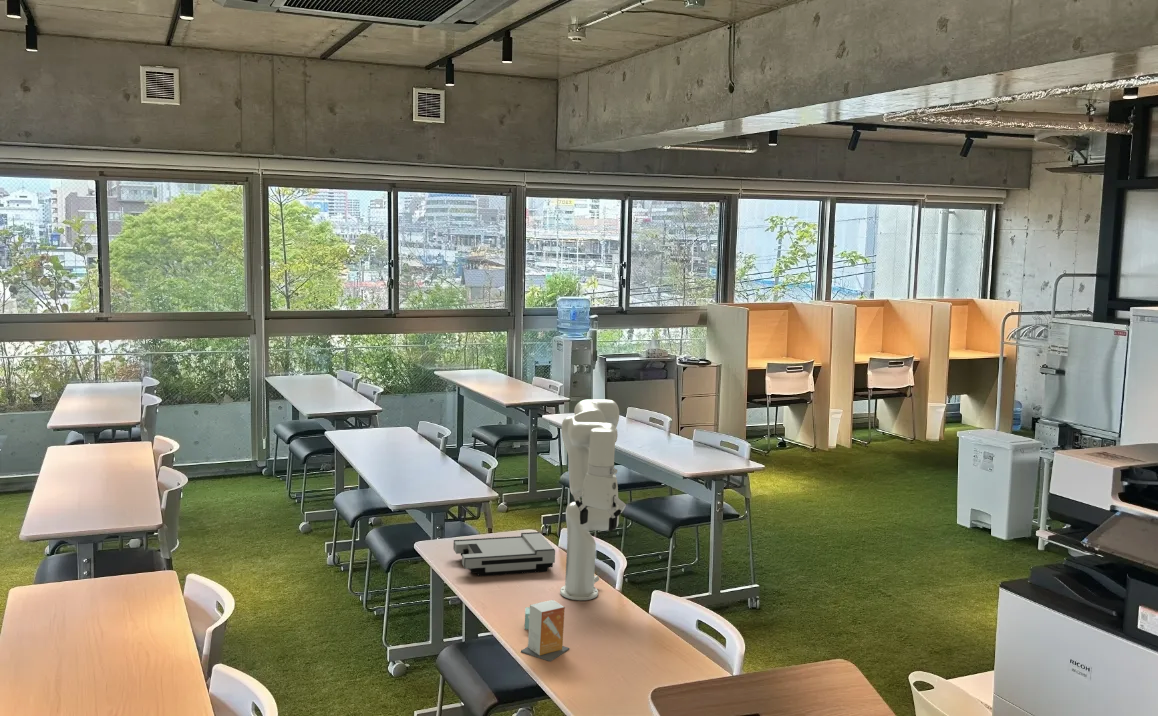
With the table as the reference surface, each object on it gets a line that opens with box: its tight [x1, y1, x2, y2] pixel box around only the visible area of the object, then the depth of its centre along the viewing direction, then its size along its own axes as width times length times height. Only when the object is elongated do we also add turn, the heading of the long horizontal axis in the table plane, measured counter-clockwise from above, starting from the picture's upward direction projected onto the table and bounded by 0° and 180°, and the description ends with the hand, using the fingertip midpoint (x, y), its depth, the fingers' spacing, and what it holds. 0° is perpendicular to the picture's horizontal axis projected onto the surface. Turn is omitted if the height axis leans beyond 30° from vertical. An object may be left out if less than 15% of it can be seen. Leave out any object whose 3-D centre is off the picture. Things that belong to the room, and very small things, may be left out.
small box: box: [527, 599, 565, 655], centre depth 274 cm, size 8×6×13 cm
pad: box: [520, 645, 570, 662], centre depth 274 cm, size 10×10×1 cm
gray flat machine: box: [452, 531, 556, 577], centre depth 342 cm, size 21×32×8 cm, turn 108°
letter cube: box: [524, 606, 530, 631], centre depth 290 cm, size 5×5×5 cm
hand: (597, 526), depth 283 cm, fingers open, 9 cm apart
